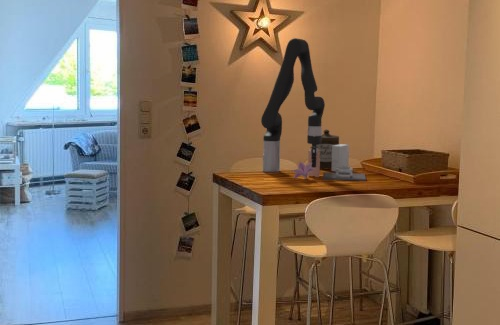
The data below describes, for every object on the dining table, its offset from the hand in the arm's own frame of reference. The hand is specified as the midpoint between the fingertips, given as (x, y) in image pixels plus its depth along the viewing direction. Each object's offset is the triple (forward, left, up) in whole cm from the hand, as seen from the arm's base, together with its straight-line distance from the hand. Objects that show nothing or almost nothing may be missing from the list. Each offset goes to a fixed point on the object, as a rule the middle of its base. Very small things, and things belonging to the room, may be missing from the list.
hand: (313, 166), depth 329 cm
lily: (-5, -11, -6) cm, 13 cm away
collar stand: (+16, -2, -5) cm, 17 cm away
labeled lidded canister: (+6, +32, -6) cm, 33 cm away
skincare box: (+14, +19, -6) cm, 24 cm away
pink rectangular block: (0, 0, -5) cm, 5 cm away
